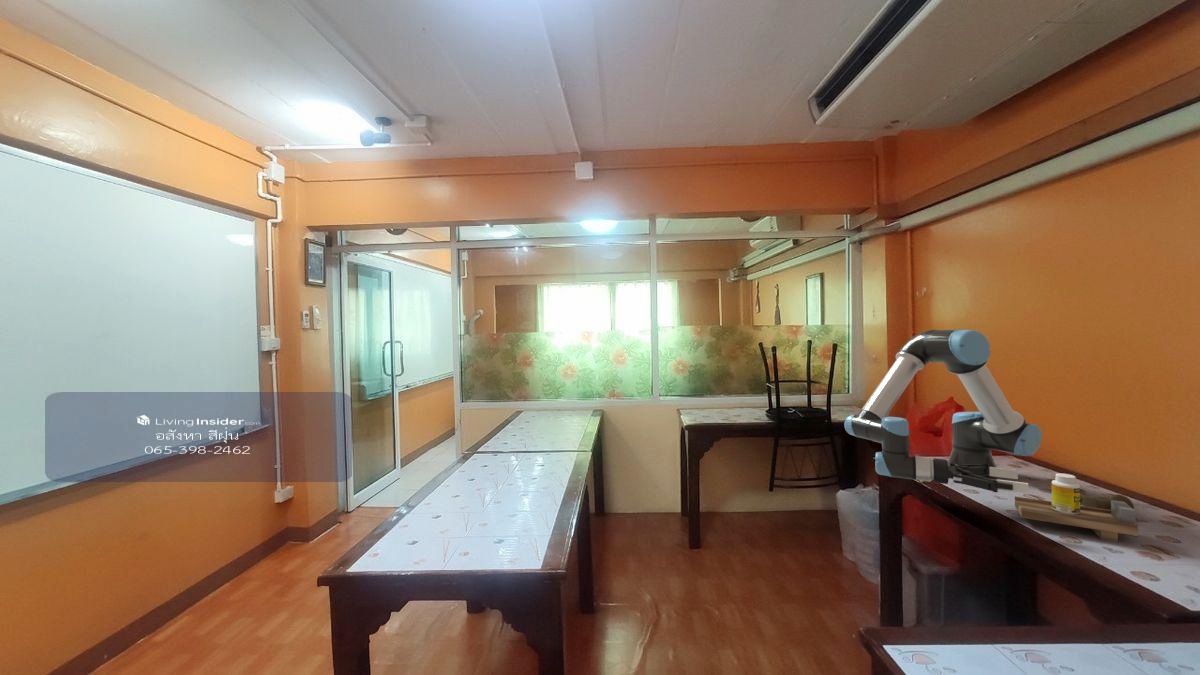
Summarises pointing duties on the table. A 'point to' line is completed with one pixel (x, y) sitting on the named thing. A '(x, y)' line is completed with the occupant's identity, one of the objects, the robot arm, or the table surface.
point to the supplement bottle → (1066, 494)
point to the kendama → (1101, 501)
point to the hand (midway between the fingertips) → (1022, 481)
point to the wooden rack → (1084, 517)
